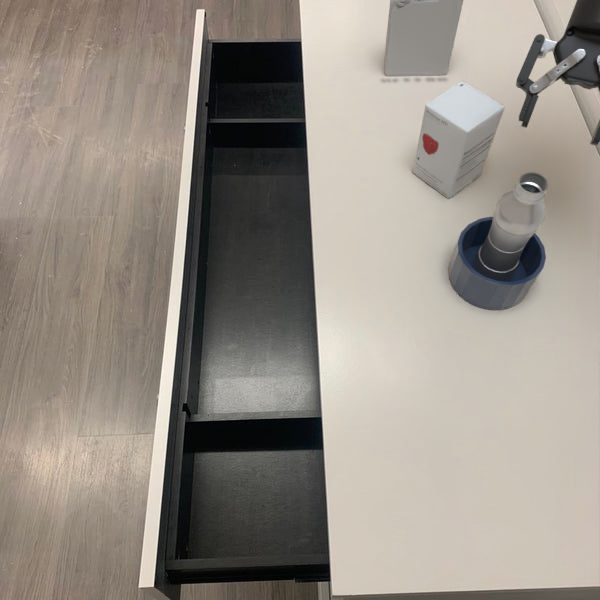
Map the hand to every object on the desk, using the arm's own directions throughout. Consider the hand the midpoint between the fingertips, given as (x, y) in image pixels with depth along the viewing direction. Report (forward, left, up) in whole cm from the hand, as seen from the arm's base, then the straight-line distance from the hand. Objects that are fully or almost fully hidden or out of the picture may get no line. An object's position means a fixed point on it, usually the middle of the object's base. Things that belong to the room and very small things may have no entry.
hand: (558, 135), depth 66 cm
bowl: (-3, +6, -23) cm, 24 cm away
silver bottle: (-3, +6, -23) cm, 24 cm away
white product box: (+18, -2, -23) cm, 29 cm away
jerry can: (+46, -14, -23) cm, 53 cm away
